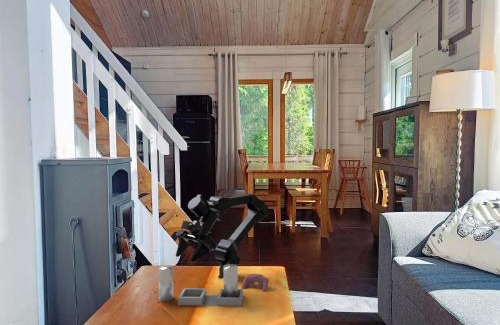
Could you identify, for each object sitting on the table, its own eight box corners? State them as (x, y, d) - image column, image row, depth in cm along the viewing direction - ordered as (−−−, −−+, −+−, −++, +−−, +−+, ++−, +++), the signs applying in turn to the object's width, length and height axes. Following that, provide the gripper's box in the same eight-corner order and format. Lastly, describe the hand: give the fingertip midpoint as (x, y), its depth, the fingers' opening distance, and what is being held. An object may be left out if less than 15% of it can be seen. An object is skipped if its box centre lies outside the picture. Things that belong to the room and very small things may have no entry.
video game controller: (268, 294, 135) (270, 275, 138) (265, 293, 131) (267, 274, 134) (243, 291, 138) (246, 273, 141) (240, 290, 135) (242, 271, 137)
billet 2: (232, 296, 128) (232, 263, 127) (240, 301, 124) (240, 266, 124) (220, 300, 125) (220, 266, 124) (228, 304, 121) (228, 269, 120)
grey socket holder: (244, 298, 128) (244, 288, 128) (242, 309, 120) (242, 298, 120) (183, 297, 130) (183, 288, 130) (177, 308, 121) (177, 297, 121)
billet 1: (169, 296, 131) (169, 264, 130) (175, 301, 127) (175, 267, 126) (156, 300, 128) (155, 267, 127) (162, 305, 124) (161, 270, 123)
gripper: (178, 209, 142) (155, 243, 135) (209, 214, 129) (185, 252, 122) (195, 224, 148) (174, 258, 141) (226, 231, 135) (204, 268, 128)
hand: (183, 258), depth 133 cm, fingers open, 9 cm apart
